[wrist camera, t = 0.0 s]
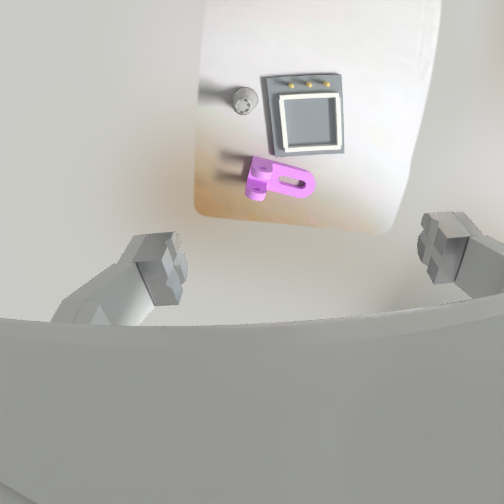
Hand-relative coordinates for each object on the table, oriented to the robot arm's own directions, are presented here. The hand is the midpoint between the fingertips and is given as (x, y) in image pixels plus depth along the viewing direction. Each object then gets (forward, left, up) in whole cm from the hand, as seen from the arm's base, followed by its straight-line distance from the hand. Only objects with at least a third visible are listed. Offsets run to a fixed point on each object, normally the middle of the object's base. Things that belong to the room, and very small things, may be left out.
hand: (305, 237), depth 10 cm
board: (+6, +5, -48) cm, 49 cm away
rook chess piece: (+2, -5, -48) cm, 49 cm away
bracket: (+18, 0, -48) cm, 52 cm away
